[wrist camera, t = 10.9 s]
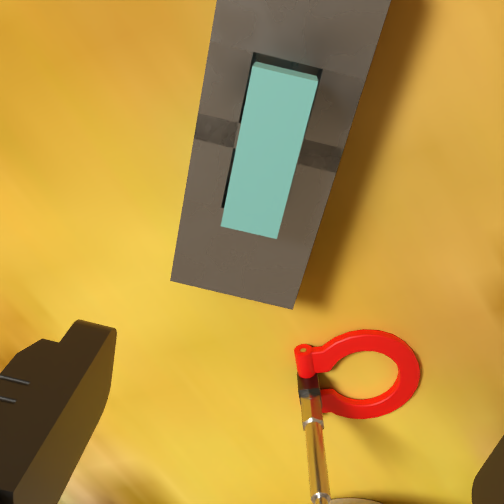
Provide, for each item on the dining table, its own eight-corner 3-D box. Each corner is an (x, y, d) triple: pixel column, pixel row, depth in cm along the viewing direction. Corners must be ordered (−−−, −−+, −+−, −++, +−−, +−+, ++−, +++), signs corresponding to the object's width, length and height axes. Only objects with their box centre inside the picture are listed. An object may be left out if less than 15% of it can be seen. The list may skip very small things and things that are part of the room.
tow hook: (415, 319, 35) (290, 334, 36) (484, 468, 24) (300, 485, 25) (417, 403, 39) (304, 414, 40) (478, 567, 28) (318, 578, 29)
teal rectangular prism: (262, 53, 27) (252, 65, 21) (313, 65, 27) (318, 81, 21) (235, 185, 31) (220, 226, 25) (280, 195, 31) (276, 239, 25)
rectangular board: (242, -82, 25) (232, -97, 21) (391, -43, 25) (407, -52, 21) (183, 252, 34) (170, 280, 30) (293, 278, 34) (292, 309, 30)
